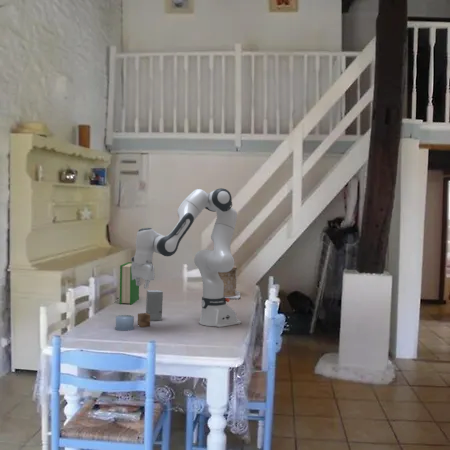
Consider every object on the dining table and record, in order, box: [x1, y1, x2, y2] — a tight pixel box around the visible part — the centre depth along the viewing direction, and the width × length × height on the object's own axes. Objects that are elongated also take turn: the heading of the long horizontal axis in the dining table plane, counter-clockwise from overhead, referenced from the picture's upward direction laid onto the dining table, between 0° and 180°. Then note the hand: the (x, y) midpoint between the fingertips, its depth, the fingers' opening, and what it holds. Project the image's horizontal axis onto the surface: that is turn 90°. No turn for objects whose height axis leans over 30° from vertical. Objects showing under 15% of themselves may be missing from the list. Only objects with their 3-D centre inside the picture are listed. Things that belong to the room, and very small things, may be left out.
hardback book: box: [119, 261, 140, 305], centre depth 343 cm, size 18×7×24 cm, turn 174°
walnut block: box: [137, 312, 151, 328], centre depth 281 cm, size 5×5×6 cm
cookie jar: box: [218, 264, 241, 300], centre depth 371 cm, size 25×25×32 cm
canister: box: [114, 314, 135, 332], centre depth 274 cm, size 9×9×6 cm
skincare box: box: [145, 289, 164, 322], centre depth 296 cm, size 8×7×16 cm
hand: (142, 286), depth 276 cm, fingers open, 8 cm apart
